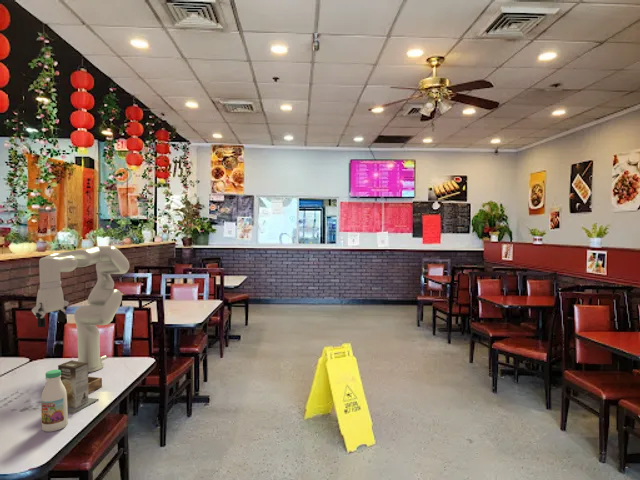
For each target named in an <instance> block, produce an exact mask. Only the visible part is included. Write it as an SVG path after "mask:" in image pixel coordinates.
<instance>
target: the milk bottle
mask: <svg viewBox="0 0 640 480" xmlns="http://www.w3.org/2000/svg"><path fill="white" fill-rule="evenodd" d="M60 377H61V370H58V369H51V370H49V371H46V373H45V380H46V382H45V385H44V388H43V390H42V391H41V392H42V393H41V397H40V400H41V401H40V406H41V407H40V408H41V409H40V411H41V414H40V415H41V429H42V431H43V432H46V433H49V432H50V433H51V432H56V431H59V430H62V429H64V428H65V427H67V426H68V423H69V419H68V417H69V416H68V415H69V413H68V411H67V393H66V389H65V387H64V385H63V383H62V381H61V378H60Z"/></svg>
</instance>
